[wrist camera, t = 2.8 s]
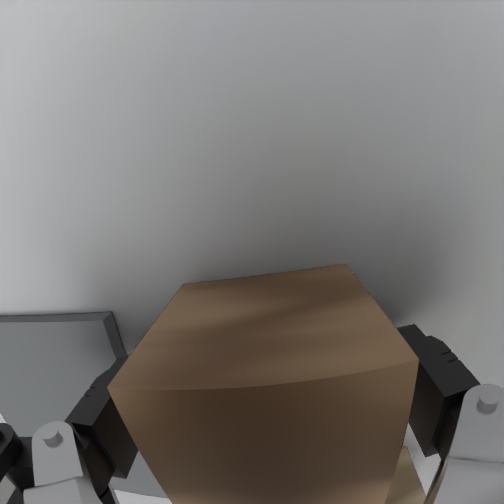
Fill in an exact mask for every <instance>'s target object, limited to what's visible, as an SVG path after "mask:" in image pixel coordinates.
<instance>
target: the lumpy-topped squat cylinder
mask: <svg viewBox="0 0 504 504" xmlns="http://www.w3.org/2000/svg"><path fill="white" fill-rule="evenodd" d="M15 488H16V487H15V486H14V485H13V484H12V483H11V482H10V480H9V479H8V478H6V477H5V476H4V478H3V479H2V481H1V483H0V504H6V503H7V502H8V500H9V498H10V496H11V495H12V493H13V491H14V489H15Z"/></svg>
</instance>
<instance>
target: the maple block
mask: <svg viewBox="0 0 504 504" xmlns="http://www.w3.org/2000/svg"><path fill="white" fill-rule="evenodd" d="M425 498H426V495H425V492H424V490H423V487H422V485H421V482H420V479H419V477H418V474H417V472H416V469H415V467H414V464H413V462H412V460H411V457H410V455H409V452H408V450H407V448H406V447H404V448H402V449H401V452H400V456H399V460H398V463H397V466H396V470H395V473H394V476H393V480H392V483H391V486H390V489H389V492H388V495H387V498H386V500H385V503H384V504H423V503H424V500H425Z"/></svg>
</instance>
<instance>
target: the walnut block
mask: <svg viewBox="0 0 504 504" xmlns="http://www.w3.org/2000/svg"><path fill="white" fill-rule="evenodd" d="M418 364H419V358H418V357H417V356H416V354H415V353H414V352H413V350H412V349H411V347H410V346H409V345H408V343H407V342H406V341H405V339H404V338H403V337H402V335H401V334H400V333H399V331H398V330H397V329H396V327H395V326H394V325H393V323H392V322H391V321H390V319H389V318H388V317H387V315H386V314H385V313H384V312H383V310H382V309H381V308H380V306H379V305H378V304H377V303H376V301H375V300H374V299H373V297H372V296H371V295H370V294H369V292H368V291H367V290H366V289H365V287H364V286H363V285H362V284H361V282H360V281H359V280H358V279H357V277H356V276H355V275H354V274H353V272H352V271H351V270H350V269H349V268H348V266H347V265H346V264H341V265H334V266H327V267H319V268H312V269H304V270H297V271H289V272H281V273H274V274H266V275H258V276H250V277H241V278H233V279H225V280H216V281H207V282H199V283H190V284H183V285H182V286H181V288H180V289H179V290H178V292H177V293H176V294H175V296H174V297H173V298H172V300H171V301H170V302H169V304H168V305H167V306H166V308H165V309H164V310H163V312H162V313H161V314H160V316H159V317H158V318H157V320H156V321H155V322H154V324H153V325H152V326H151V328H150V329H149V330H148V332H147V333H146V334H145V336H144V337H143V338H142V340H141V341H140V342H139V344H138V345H137V347H136V348H135V349H134V351H133V352H132V353H131V355H130V356H129V358H128V359H127V360H126V362H125V363H124V364H123V366H122V367H121V369H120V370H119V371H118V373H117V374H116V376H115V377H114V378H113V380H112V381H111V383H110V384H109V385H108V387H107V388H108V391H109V393H110V395H111V397H112V399H113V402H114V404H115V406H116V408H117V410H118V412H119V414H120V416H121V418H122V420H123V422H124V424H125V426H126V428H127V430H128V432H129V433H130V435H131V437H132V439H133V441H134V443H135V444H136V446H137V448H138V450H139V452H140V453H141V455H142V457H143V458H144V460H145V462H146V464H147V465H148V467H149V468H150V470H151V472H152V473H153V475H154V477H155V478H156V480H157V481H158V483H159V484H160V486H161V487H162V489H163V490H164V492H165V493H166V495H167V496H168V498H169V499H170V501H171V502H172V504H384V503H385V500H386V498H387V495H388V492H389V489H390V486H391V483H392V480H393V476H394V473H395V470H396V466H397V463H398V460H399V456H400V452H401V449H402V445H403V441H404V437H405V433H406V428H407V424H408V420H409V415H410V410H411V405H412V400H413V395H414V389H415V383H416V377H417V371H418Z"/></svg>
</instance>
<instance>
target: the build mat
mask: <svg viewBox="0 0 504 504" xmlns="http://www.w3.org/2000/svg"><path fill="white" fill-rule="evenodd" d="M119 356H126V353H125V351H124V348H123V345H122V342H121V339H120V336H119V333H118V330H117V327H116V324H115V321H114V318H113V314H112V312H100V313H81V314H60V315H31V316H0V413H1V414H2V416H3V418H4V419H5V421H6V423H7V424H9V425H11V427H12V428H13V429H14V431H15V432H16V434H17V435H18V437H33V435H34V434H35V432H36V431H37V430H38V429H39V428H40V427H42V426H43V425H45V424H48V423H50V422H56V421H61V422H64V421H65V420H66V418H67V417H68V415H69V414H70V413H71V411H72V410H73V409H74V407H75V406H76V404H77V403H78V402H79V400H80V399H81V398H82V396H83V397H84V394H85V392H86V391H87V390H88V389H90V386H91V384H92V383H93V382H94V380H95V379H96V378H97V377H98V376H100V375H101V374H102V373H104V372H105V371H106V370H109V369H110V367H111V366H112V365H113V363H114V362H115V361H116V359H117V358H118V357H119ZM109 483H110V484H111V485H112V487H113V489H115V490H120V491H125V492H130V493H136V494H141V495H147V496H154V497H161V498H168V496H167V495H166V493H165V492H164V490H163V489H162V487H161V486H160V484H159V483H158V481H157V480H156V478H155V477H154V475H153V473H152V472H151V470H150V468H149V467H148V465H147V464H146V462H145V460H144V458H143V457H142V455H141V453H140V452H139V450H138V453H137V455H136V458H135V460H134V462H133V465H132V467H131V469H130V472H129V474H128V476H127V479H123V478H118V477H112V478H111V480H110V482H109Z"/></svg>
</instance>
